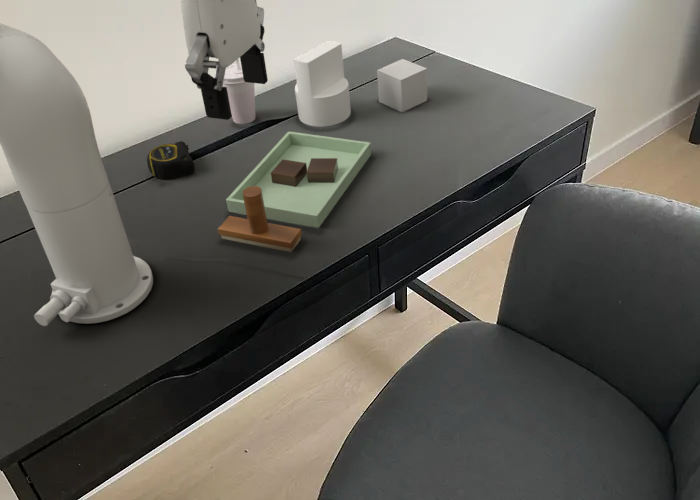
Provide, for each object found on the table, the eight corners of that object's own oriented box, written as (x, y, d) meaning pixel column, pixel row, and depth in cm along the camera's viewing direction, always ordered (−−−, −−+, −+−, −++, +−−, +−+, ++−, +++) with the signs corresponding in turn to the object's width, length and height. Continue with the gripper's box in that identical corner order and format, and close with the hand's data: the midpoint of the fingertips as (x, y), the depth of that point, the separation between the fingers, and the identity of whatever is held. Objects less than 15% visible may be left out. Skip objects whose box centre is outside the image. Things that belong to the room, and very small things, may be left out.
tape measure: (197, 178, 116) (192, 157, 113) (153, 188, 114) (147, 167, 112) (191, 157, 121) (186, 137, 119) (148, 167, 120) (143, 146, 117)
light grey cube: (378, 101, 131) (376, 69, 128) (403, 90, 134) (402, 58, 131) (402, 112, 128) (400, 80, 124) (427, 100, 130) (426, 68, 127)
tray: (319, 232, 102) (317, 215, 100) (229, 215, 107) (225, 199, 105) (371, 158, 116) (370, 142, 115) (290, 146, 121) (288, 131, 120)
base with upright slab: (328, 135, 123) (321, 67, 116) (288, 122, 128) (278, 56, 121) (361, 113, 128) (356, 46, 121) (321, 101, 133) (314, 36, 126)
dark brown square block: (296, 187, 110) (294, 176, 109) (272, 183, 112) (270, 172, 110) (307, 172, 113) (306, 162, 112) (284, 169, 114) (282, 159, 113)
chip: (334, 182, 110) (333, 172, 109) (307, 182, 111) (306, 172, 110) (338, 168, 113) (337, 158, 112) (312, 168, 114) (311, 158, 113)
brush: (293, 257, 98) (284, 204, 93) (220, 242, 102) (209, 191, 97) (303, 243, 100) (295, 191, 95) (232, 229, 104) (221, 178, 99)
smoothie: (255, 132, 126) (242, 53, 117) (220, 130, 127) (204, 52, 119) (268, 114, 131) (256, 37, 122) (234, 112, 132) (220, 36, 124)
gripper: (220, -67, 89) (243, 67, 100) (140, -19, 77) (175, 129, 87) (277, -65, 87) (294, 72, 98) (203, -15, 75) (232, 136, 85)
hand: (238, 99), depth 92 cm, fingers open, 9 cm apart
